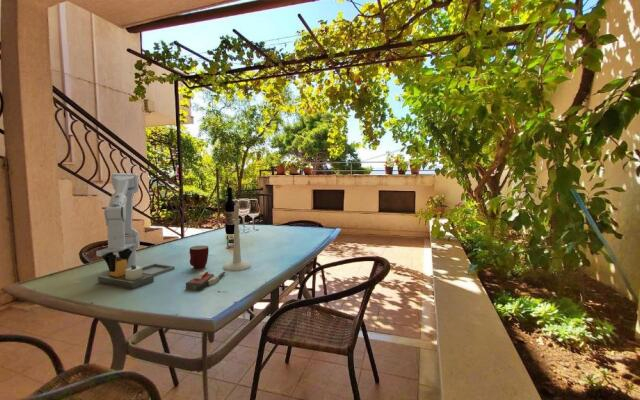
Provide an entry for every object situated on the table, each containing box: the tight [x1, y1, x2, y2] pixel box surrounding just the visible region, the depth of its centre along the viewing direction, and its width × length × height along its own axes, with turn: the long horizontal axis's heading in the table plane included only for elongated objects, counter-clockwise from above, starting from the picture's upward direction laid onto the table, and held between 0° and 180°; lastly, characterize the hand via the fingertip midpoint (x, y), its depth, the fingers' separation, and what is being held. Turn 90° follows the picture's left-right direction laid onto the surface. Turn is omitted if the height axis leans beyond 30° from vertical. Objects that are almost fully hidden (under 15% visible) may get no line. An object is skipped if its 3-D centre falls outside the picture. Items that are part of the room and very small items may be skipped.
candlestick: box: [222, 204, 252, 272], centre depth 141 cm, size 13×13×30 cm
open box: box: [97, 272, 155, 290], centre depth 119 cm, size 19×9×3 cm, turn 69°
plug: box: [109, 257, 127, 277], centre depth 120 cm, size 4×4×7 cm
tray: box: [141, 263, 176, 277], centre depth 133 cm, size 12×12×2 cm
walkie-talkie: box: [185, 270, 226, 291], centre depth 121 cm, size 9×4×20 cm
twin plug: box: [125, 265, 142, 280], centre depth 117 cm, size 4×4×7 cm
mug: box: [189, 245, 210, 270], centre depth 137 cm, size 11×8×10 cm
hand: (117, 269), depth 120 cm, fingers closed on plug, 4 cm apart
